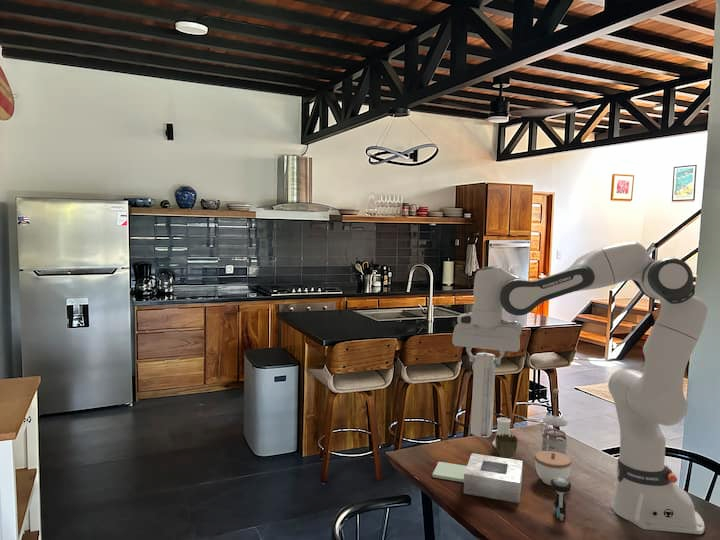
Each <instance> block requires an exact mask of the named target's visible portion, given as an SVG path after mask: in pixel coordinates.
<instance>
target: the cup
mask: <svg viewBox="0 0 720 540" xmlns="http://www.w3.org/2000/svg"><path fill="white" fill-rule="evenodd" d="M496 434H497V433H496ZM494 437H496V448H495V449H496V452H497V453H498V455H499V457H500V458H507V459H513V458H512V457H513V456H515V454H516V452H517V447H518V440H519V439H518V437H516V435H513V434H510V437H509V435H508V434H507V435H506V434H504V435H503V436H502V434H501V435H499V434H497V436H496V435H495V436H494Z"/></svg>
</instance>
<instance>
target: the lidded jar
mask: <svg viewBox="0 0 720 540" xmlns="http://www.w3.org/2000/svg"><path fill="white" fill-rule="evenodd" d="M534 460H535V461H534V462H535V463H534V464H535V471H536V474H537V475H538V477H539V478H540V479H541V481H542V482H543V483H544V484H546V485H548V486H551V480H552V479H554V478H555V477H563V478H566V479H567V480H568V478H569V477H570V474H571V467H572V459H571V458H570V457H569V456H568V455H567V454H565V455H564V454H562V453H559V452H554V451H542V450H541V451H538V452H536V453H535V454H534Z"/></svg>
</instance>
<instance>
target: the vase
mask: <svg viewBox="0 0 720 540" xmlns="http://www.w3.org/2000/svg"><path fill="white" fill-rule="evenodd" d="M511 421H512V420H511V418H508V417H501V416H500V417H497V418H496V423H497V427H496V428H497V429H496V434H495V436H497V434H499V435H501V434H502V436H503V435H504V434H506V435H507V434H508V435H509V437H510V436H511ZM495 436H494V437H495ZM493 446H494V447H493ZM492 447H493V448H495V447H496V437H495V438H494V439H493V441H492Z"/></svg>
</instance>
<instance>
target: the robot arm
mask: <svg viewBox="0 0 720 540" xmlns="http://www.w3.org/2000/svg"><path fill="white" fill-rule="evenodd" d="M627 281H632V282H633V283H634V284H635V286H636V287H637V288H638V290H640V291H639V292H641V293H642V294H643V296H646V297H647V298H649V299H652V300H656V301H659V303H660V311H659V315H658V316H657V317H656V320H655V322H654V324H653V325H652V328H651V329H650V332H649V334H648V336H647V339H646V340H645V343H644V345H643V347H642V352H643V356H644V360H645V361H644V369H643V372H641V371H640V370H636V369H629V368H624V369H623V368H622V369H618V370H616V371H615V372H613V373H612V374H611V376H610V378H609V380H608V386H607V387H608V391H609V393H610V395H611V397H612V398H613V402H614V405H615V409H616V415H617V419H618V424H619V425H618V426H619V431H620V432H619V433H620V436H619V437H620V439H619V457H618V458H617V464H616V478H617V483H616V486H615V487H616V488H615V491H614V492H615V493H614V496H613V499H612V501H611V503H610V507H611V510H612V511H613V512H614V513H615V514H616V515H618V516H619V517H621V518H623V519H625V520H627V521H629V522H631V523H633V524H635V525H636V526H637V527H638V528H640V529H642V530H647V531H648V530H649V531H650V530H651V531H657V532H658V531H660V532H671V533H681V534H682V533H683V534H690V535H691V534H694V535H702V534H704V532H705V528H706V527H705V522H704V519H703V518H702V516H701V515H700V513H698V512H697V510H695V506H694V503H693V500H692V499H691V497H690V495H689V494H688V493H687V492H686V491H685V490H684V489H682V488H681V487H680V486H679V485H678V484H677V482H678V478H677V475H676V474H675V473H673V470H671V469H670V467H669V466H668V465H665V464H666V463H665V457H666V438H665V435H664V434H663V432H662V430H661V428H660V425H662V426H668V427H669V426H670V427H671V426H674V425H678V424H679V423H681V422H682V421H683V419H684V418H685V416H686V415H687V411H688V402H687V400H686V397H685V394H684V380H685V379H684V378H685V372H686V368H687V365H688V363H689V360H690V358H691V356H692V353H693V352H694V349H695V347H696V345H697V343H698V341H699V338H700V337H701V334H702V332H703V329H704V326H705V322H706V320H707V314H708V306H707V304H706V303H705V301H703V300H702V299H701V298H699V297H698V296H695V292H696V291H695V284H694V274H693V271H692V269H691V267H690V266H689V264H688V263H686V262H685V261H684V260H682V259H679V258H676V257H664V258H661V259H657V260H656V259H653V258H652V257H651V256H650V254H649V252H648V250H647V249H646V247H645V246H643V244H641V243H640V242H637V241H629V242H620V243H615V244H611V245H608V246H604V247H601V248H598V249H594V250H592V251H590V252H587V253H586V254H584V255H581V256H580V257H577V259H575V261H574V262H573V263H572V265H570V266H569V267H568V268H566V269H564V270H563V271H560V272H557V273H554V274H551V275H549V276H546V277H542V278H540V279H537V280H535V279H534V280H527V279H525V278H524V277H523V278H522V277H519V276H517V275H515V274H512V273H511V272H509V271H507V270H506V269H504V268H503V267H502V266H501V265H500V266H499V265H490V266H484V267H481V268H479V269H478V270H477V271H476V272H475V276H474V281H473V292H472V293H473V298H474V299H473V305H472V311H470V312H469V311H468V312H466V313H461V314H459V315H458V317H457V319H456V321H457V324H456V325H455V326H454V329H453V333H452V339H451V340H452V344H453V346H454V347H463V348H464V347H465V348H466V349H465V350H466V353H467V355H468V356H469V357H468V358H469V359H468V360H469V362H471V363H474V356H476V354H475V355H474V354H473V353H472V349H473V348H474V349H483V350H493V351H499V354H500V355H499V356H498V357H495V358H496V359H495V361H496V362H495V364H496V366H497V365H501V362H502V361H501V360H502V358H503V357H504V355H505V352H511V353H512V352H513V353H516V352H518V351H519V350H520V349H521V342H520V341H521V338H520V336H521V334H522V332H523V331H522V330H523V325H522V324H521V323H520V322H518V321H516V320H508V319H502V318H503V309H504V311H506V313H509V314H510V315H512V316H519V317H520V316H525V315H527V314H529V313H531V312H532V311H534V309H536V308H537V307H538V306H539V305H540V304H542V303H544V302H547V301H550V300H553V299H556V298H557V297H562V296H565V295H568V294H571V293H575V292H579V291H586V290H587V291H589V290H595V289H601V288H605V287H611V286H613V285H616V284H620V283H623V282H627Z"/></svg>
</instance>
